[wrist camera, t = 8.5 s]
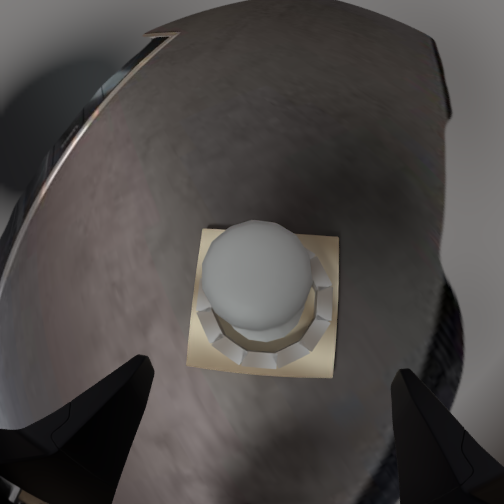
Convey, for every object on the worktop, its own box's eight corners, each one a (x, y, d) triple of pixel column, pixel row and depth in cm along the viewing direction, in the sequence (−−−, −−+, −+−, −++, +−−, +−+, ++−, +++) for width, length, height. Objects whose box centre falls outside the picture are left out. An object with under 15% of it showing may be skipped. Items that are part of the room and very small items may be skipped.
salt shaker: (288, 261, 23) (306, 177, 10) (309, 327, 21) (361, 319, 9) (220, 282, 23) (163, 220, 10) (239, 349, 21) (197, 370, 9)
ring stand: (330, 376, 21) (336, 380, 18) (189, 364, 22) (180, 367, 19) (336, 239, 24) (342, 230, 22) (204, 231, 25) (198, 222, 23)
